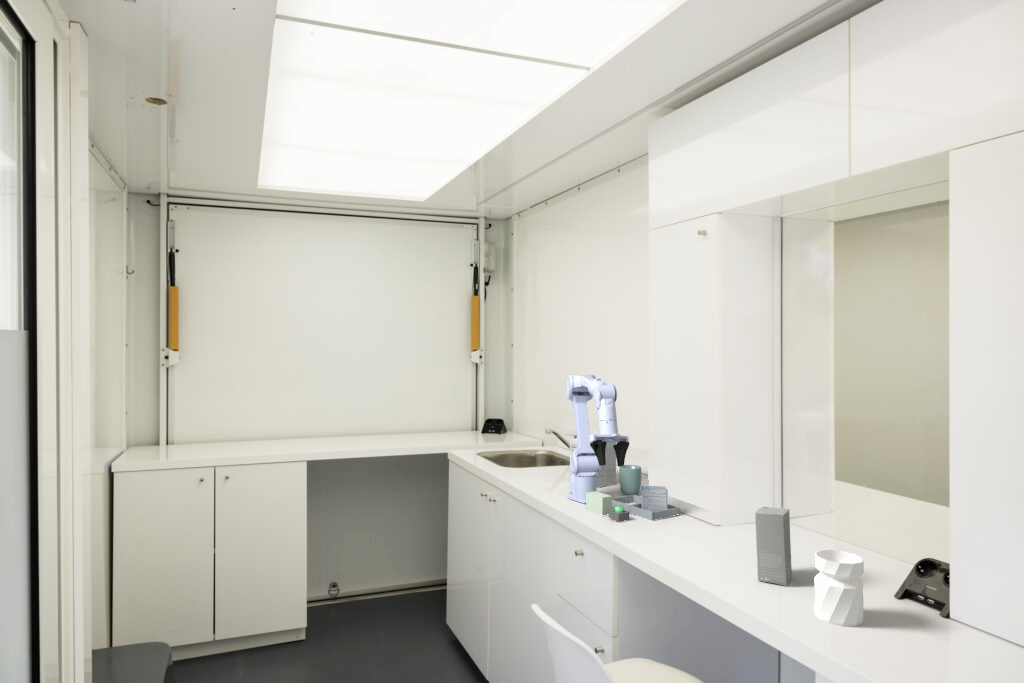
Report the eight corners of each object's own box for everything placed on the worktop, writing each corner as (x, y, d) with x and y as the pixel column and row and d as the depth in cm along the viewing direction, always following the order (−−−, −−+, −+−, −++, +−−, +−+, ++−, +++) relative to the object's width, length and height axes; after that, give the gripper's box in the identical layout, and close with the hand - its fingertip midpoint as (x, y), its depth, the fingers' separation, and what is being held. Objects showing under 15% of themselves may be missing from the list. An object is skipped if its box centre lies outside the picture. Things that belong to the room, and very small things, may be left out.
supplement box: (590, 478, 258) (591, 435, 259) (616, 484, 249) (617, 439, 249) (568, 483, 249) (569, 438, 250) (594, 489, 240) (595, 442, 240)
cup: (644, 493, 233) (644, 466, 233) (636, 497, 226) (636, 469, 226) (624, 490, 237) (624, 464, 237) (616, 494, 230) (616, 467, 230)
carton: (586, 511, 207) (586, 492, 207) (595, 509, 209) (595, 491, 209) (602, 516, 200) (602, 497, 201) (611, 515, 203) (612, 496, 203)
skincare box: (787, 587, 142) (787, 516, 142) (753, 580, 146) (753, 511, 146) (793, 576, 149) (793, 508, 149) (760, 570, 153) (761, 504, 153)
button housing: (608, 518, 198) (609, 510, 198) (619, 516, 200) (619, 508, 200) (618, 522, 194) (618, 513, 194) (629, 520, 196) (629, 512, 196)
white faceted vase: (827, 626, 122) (827, 563, 122) (806, 608, 131) (806, 549, 131) (872, 627, 122) (873, 564, 122) (848, 608, 131) (848, 549, 131)
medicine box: (665, 513, 205) (666, 486, 206) (667, 516, 201) (668, 489, 201) (641, 512, 206) (641, 485, 206) (642, 515, 202) (642, 488, 202)
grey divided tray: (607, 506, 213) (607, 498, 213) (633, 501, 220) (633, 494, 220) (652, 520, 196) (652, 512, 196) (679, 515, 203) (679, 507, 203)
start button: (613, 515, 197) (613, 506, 197) (619, 514, 199) (619, 505, 199) (618, 517, 195) (618, 507, 195) (625, 515, 197) (625, 506, 197)
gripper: (598, 418, 193) (602, 463, 189) (633, 421, 201) (638, 464, 197) (583, 422, 199) (587, 466, 195) (618, 424, 207) (622, 467, 203)
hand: (611, 465), depth 196 cm, fingers open, 7 cm apart
